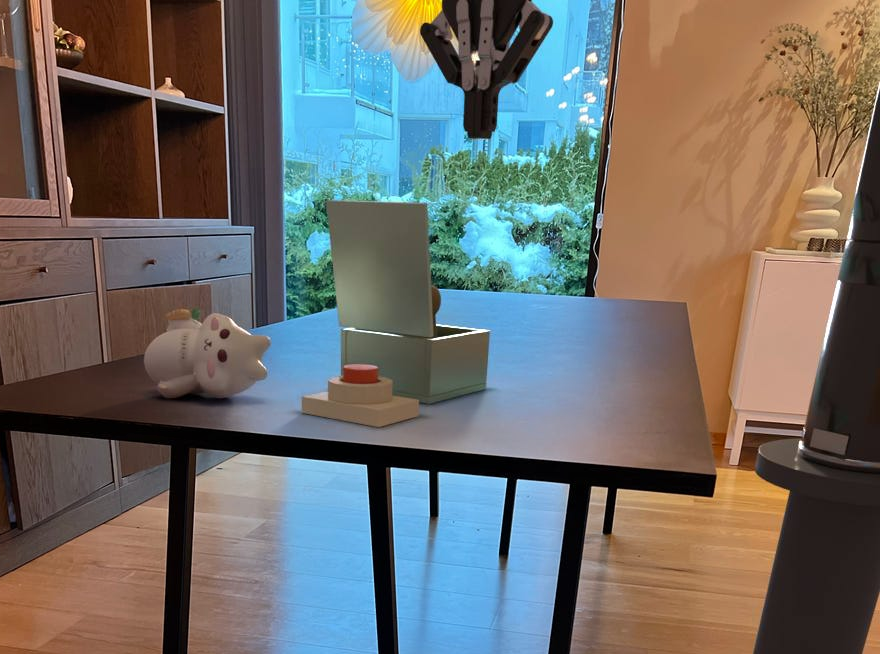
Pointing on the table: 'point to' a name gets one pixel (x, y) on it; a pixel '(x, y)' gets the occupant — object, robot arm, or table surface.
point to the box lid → (381, 265)
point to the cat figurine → (205, 356)
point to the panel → (361, 403)
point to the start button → (360, 374)
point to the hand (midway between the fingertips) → (479, 138)
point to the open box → (422, 360)
